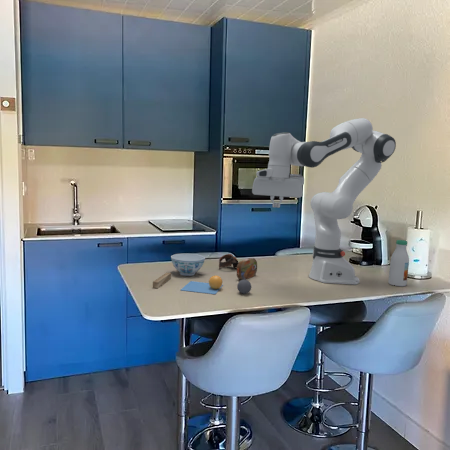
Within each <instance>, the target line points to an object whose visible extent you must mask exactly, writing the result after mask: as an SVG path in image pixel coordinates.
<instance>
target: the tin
mask: <svg viewBox="0 0 450 450" xmlns="http://www.w3.org/2000/svg"><path fill="white" fill-rule="evenodd" d="M257 271H258V262H257V260H256V258H251V257H250V258H245V259H243V260H240V261H238V265H237V268H236V277H237V278H238V279H239V280H240V281H241V280H249V279H251V278H253V277H255V276H256V274H257Z"/></svg>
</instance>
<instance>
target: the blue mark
mask: <svg viewBox="0 0 450 450" xmlns="http://www.w3.org/2000/svg"><path fill="white" fill-rule="evenodd" d="M223 286H224V284H222V286H221V287H220V288H219V289H212V288H211V287H210V286H209V282H201V281H192V280H190V281H189V282H188V283H187V284H185V285H184V286H183V287H181V288H180V291H181V292H182V291H183V292H192V293H198V294H199V293H200V294H209V295H216V294H217V293H218V292H219V291H220V289H222V287H223Z"/></svg>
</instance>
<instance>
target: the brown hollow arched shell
mask: <svg viewBox="0 0 450 450" xmlns="http://www.w3.org/2000/svg"><path fill="white" fill-rule="evenodd" d="M223 260H224V261H223ZM238 263H239V260H238V259H237V257H236V256H233V254H231V253H227V254H224V255H222V256H221V257H219V259H218V269H219V270H220V269H221V268H223V269H224V268H228V267H232V268H236V269H237V265H238Z"/></svg>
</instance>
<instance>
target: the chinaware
mask: <svg viewBox="0 0 450 450" xmlns="http://www.w3.org/2000/svg"><path fill="white" fill-rule="evenodd" d="M170 258H171V263H172V265H173V268H175V270H176V271H178V272H179V274H180V276H186V277H189V276H190V277H191V276H195V274H196V272H198V271H199V270H200V269H202V267H203V265H204V263H205V259H206V257H205V256H203V255H202V254H197V253H175V254H173V255H171V256H170Z"/></svg>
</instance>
